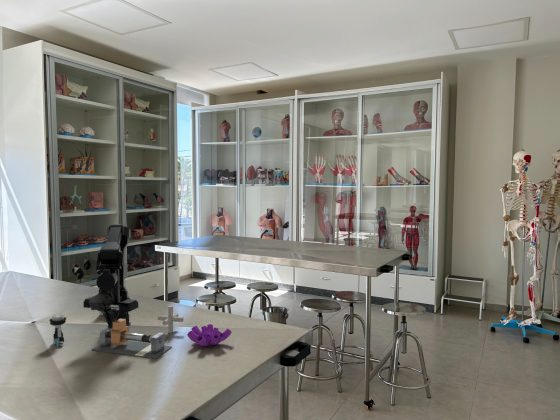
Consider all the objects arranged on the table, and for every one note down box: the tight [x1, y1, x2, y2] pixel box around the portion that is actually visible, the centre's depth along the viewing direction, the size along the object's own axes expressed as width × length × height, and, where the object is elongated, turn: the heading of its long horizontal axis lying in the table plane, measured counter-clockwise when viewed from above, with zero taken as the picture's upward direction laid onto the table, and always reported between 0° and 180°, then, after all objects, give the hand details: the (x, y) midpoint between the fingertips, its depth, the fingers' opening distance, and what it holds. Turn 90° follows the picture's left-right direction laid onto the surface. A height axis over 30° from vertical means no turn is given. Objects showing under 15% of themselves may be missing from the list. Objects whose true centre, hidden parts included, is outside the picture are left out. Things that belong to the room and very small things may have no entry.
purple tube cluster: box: [186, 323, 232, 347], centre depth 151 cm, size 11×15×10 cm
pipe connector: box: [157, 305, 185, 333], centre depth 163 cm, size 10×10×10 cm
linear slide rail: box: [99, 326, 165, 354], centre depth 146 cm, size 22×5×5 cm, turn 75°
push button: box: [48, 314, 67, 347], centre depth 150 cm, size 7×5×10 cm
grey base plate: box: [91, 340, 173, 360], centre depth 147 cm, size 25×10×1 cm, turn 75°
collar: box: [111, 319, 129, 346], centre depth 148 cm, size 3×5×8 cm, turn 165°
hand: (111, 327), depth 148 cm, fingers closed
